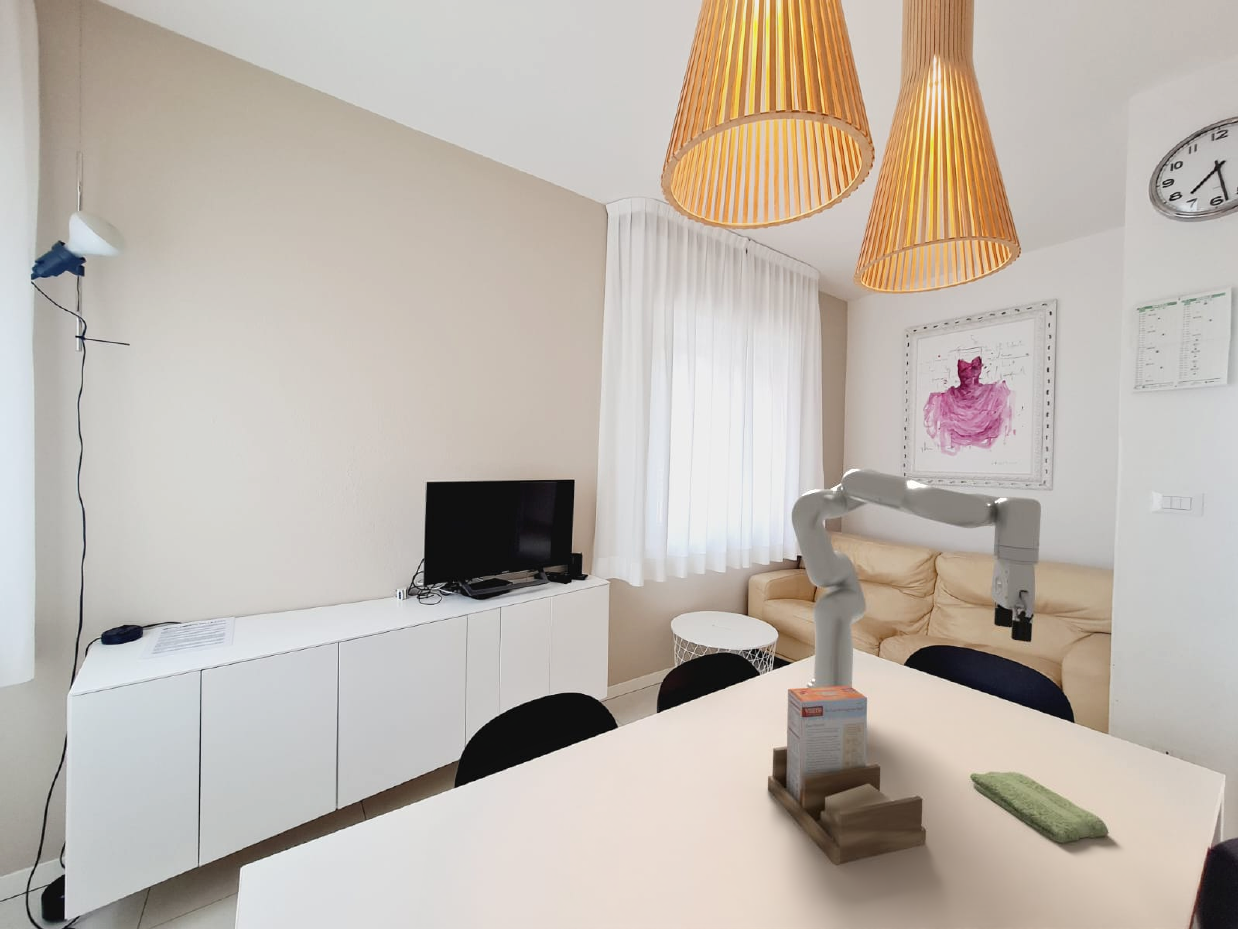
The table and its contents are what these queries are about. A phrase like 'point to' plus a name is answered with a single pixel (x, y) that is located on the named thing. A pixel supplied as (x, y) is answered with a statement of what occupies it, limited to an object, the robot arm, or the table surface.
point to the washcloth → (1039, 806)
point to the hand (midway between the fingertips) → (1011, 633)
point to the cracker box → (824, 733)
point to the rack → (850, 813)
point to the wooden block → (848, 805)
